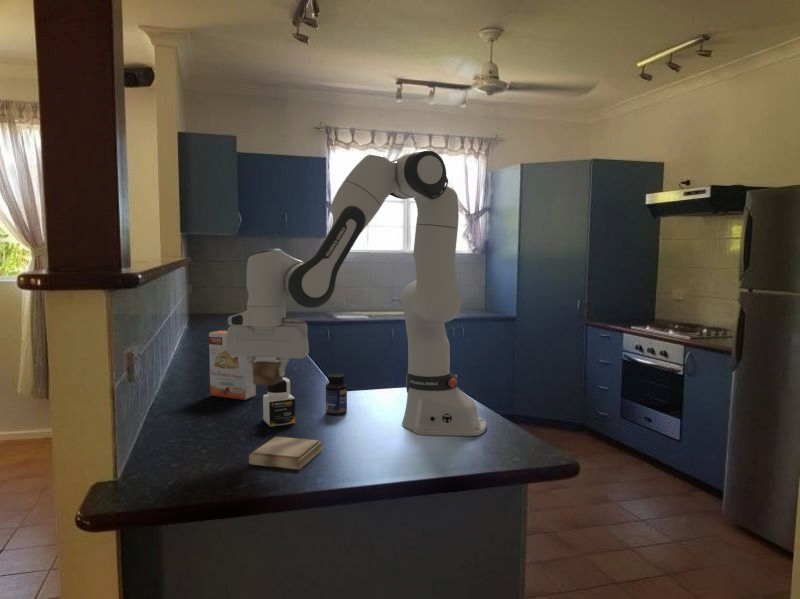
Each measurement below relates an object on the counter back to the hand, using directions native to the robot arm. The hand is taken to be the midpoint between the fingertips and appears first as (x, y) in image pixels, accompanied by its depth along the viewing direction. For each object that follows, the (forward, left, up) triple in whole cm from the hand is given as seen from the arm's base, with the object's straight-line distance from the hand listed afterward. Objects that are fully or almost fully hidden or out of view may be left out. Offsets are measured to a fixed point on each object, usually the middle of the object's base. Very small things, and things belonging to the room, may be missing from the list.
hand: (268, 375), depth 131 cm
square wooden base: (-8, +7, -17) cm, 20 cm away
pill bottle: (-6, -29, -17) cm, 35 cm away
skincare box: (+41, -73, -17) cm, 86 cm away
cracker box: (+33, -38, -17) cm, 54 cm away
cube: (0, 0, -2) cm, 2 cm away
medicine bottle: (+6, -17, -17) cm, 25 cm away
